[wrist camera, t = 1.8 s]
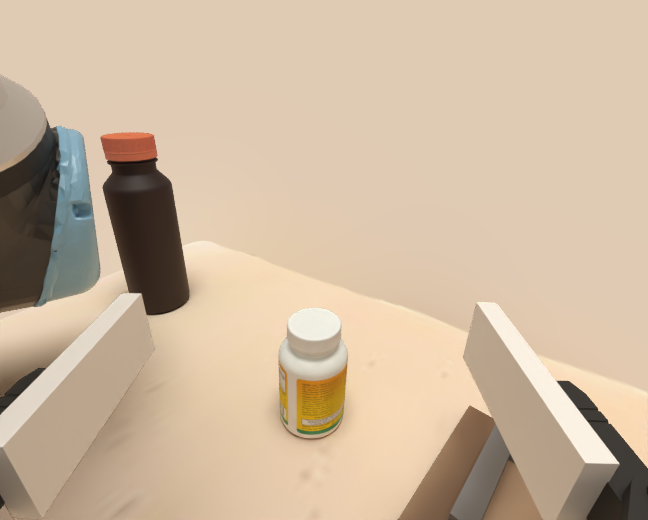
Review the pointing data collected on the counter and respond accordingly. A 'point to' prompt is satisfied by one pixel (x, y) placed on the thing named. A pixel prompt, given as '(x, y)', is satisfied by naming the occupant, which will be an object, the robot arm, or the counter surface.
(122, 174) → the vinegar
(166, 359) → the counter surface
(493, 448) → the collar board
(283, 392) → the supplement bottle
